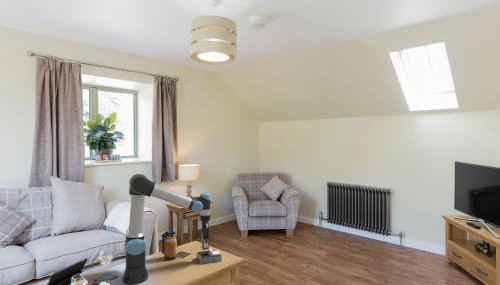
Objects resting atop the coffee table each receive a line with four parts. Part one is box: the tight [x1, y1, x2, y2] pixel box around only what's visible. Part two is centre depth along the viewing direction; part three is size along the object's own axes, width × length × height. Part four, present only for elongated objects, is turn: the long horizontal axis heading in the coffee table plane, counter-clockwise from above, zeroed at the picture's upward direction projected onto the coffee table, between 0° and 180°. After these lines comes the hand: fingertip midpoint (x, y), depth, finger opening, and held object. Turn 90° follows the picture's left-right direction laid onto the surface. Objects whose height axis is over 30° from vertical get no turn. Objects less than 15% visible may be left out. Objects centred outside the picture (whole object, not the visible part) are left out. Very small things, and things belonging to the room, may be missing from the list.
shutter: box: [208, 247, 221, 256], centre depth 228 cm, size 7×7×3 cm
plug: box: [201, 231, 210, 251], centre depth 226 cm, size 4×4×14 cm
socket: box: [195, 249, 222, 265], centre depth 227 cm, size 16×12×5 cm
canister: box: [161, 230, 178, 261], centre depth 229 cm, size 9×11×20 cm
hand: (205, 246), depth 226 cm, fingers closed on plug, 4 cm apart
